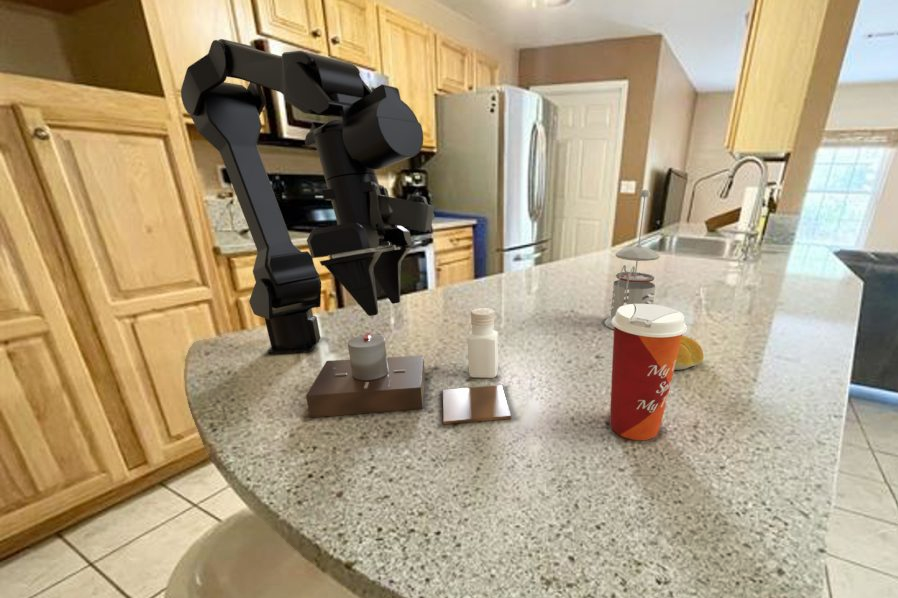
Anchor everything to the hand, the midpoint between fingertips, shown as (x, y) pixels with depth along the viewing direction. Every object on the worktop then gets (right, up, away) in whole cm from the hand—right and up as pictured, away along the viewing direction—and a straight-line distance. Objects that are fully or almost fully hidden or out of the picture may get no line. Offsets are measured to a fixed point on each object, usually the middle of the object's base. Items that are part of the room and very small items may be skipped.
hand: (385, 308), depth 53 cm
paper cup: (+31, -14, -4) cm, 34 cm away
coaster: (+11, -12, 0) cm, 17 cm away
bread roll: (+41, -7, +14) cm, 44 cm away
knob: (-2, -8, +1) cm, 9 cm away
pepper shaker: (+12, -9, +8) cm, 17 cm away
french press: (+38, -1, +29) cm, 48 cm away
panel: (-2, -11, +2) cm, 11 cm away
